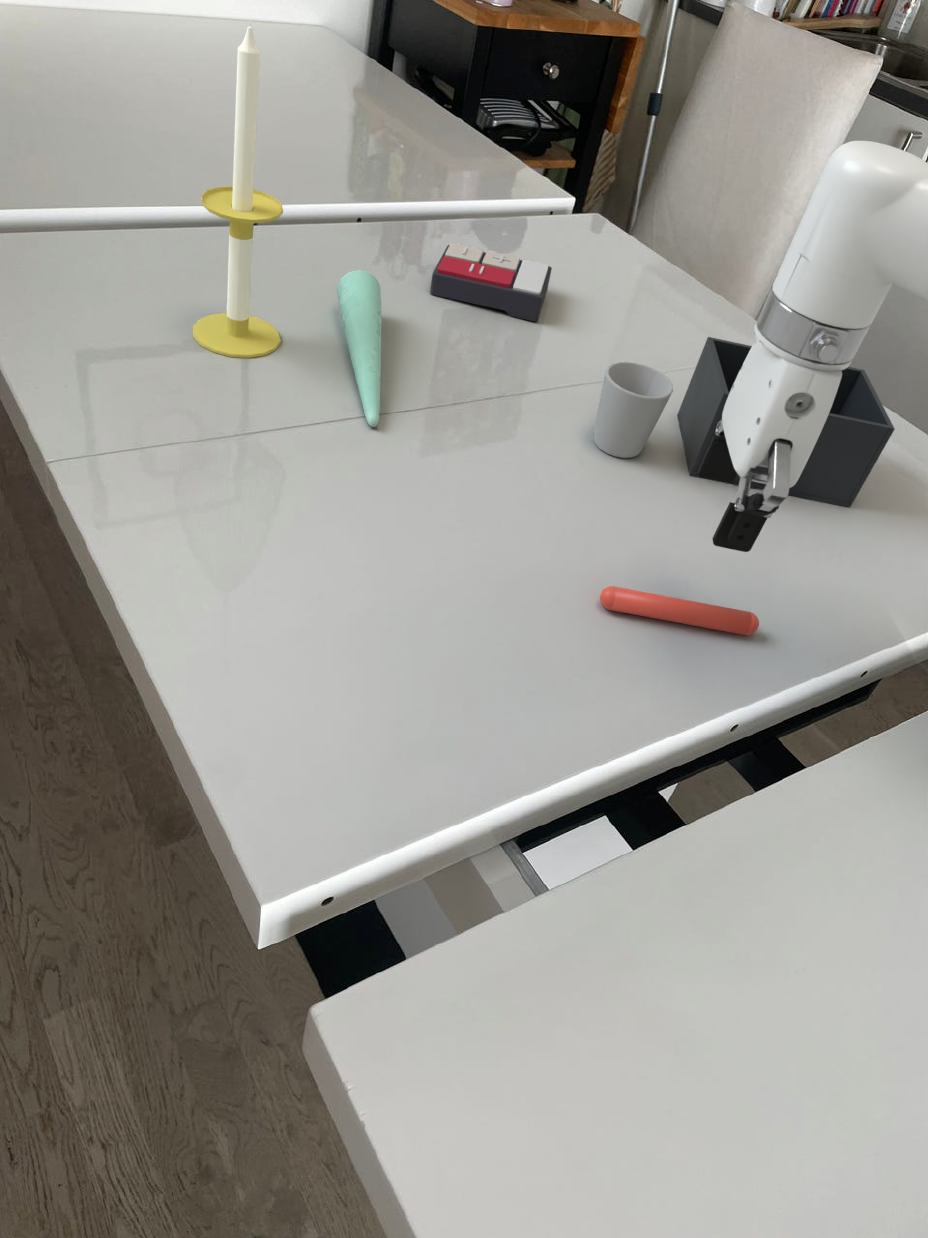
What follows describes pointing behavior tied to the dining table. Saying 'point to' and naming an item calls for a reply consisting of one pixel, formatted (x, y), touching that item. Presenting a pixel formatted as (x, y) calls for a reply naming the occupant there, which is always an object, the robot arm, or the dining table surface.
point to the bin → (840, 447)
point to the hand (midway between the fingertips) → (721, 511)
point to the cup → (629, 407)
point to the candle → (241, 226)
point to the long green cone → (363, 335)
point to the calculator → (492, 280)
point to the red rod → (679, 610)
